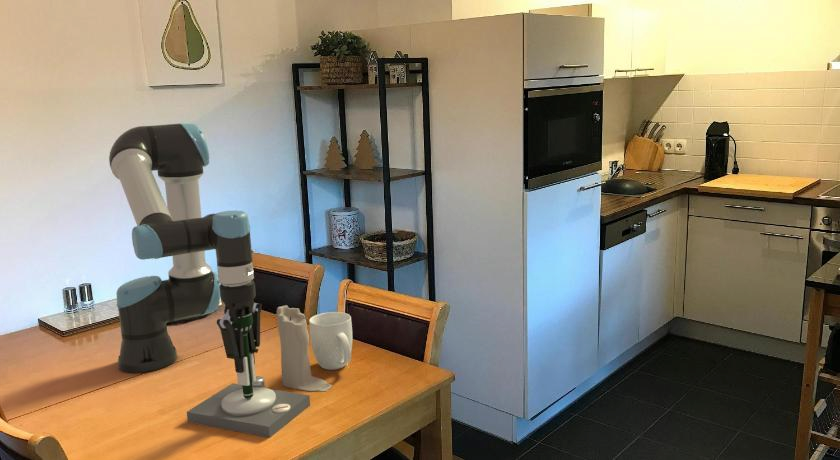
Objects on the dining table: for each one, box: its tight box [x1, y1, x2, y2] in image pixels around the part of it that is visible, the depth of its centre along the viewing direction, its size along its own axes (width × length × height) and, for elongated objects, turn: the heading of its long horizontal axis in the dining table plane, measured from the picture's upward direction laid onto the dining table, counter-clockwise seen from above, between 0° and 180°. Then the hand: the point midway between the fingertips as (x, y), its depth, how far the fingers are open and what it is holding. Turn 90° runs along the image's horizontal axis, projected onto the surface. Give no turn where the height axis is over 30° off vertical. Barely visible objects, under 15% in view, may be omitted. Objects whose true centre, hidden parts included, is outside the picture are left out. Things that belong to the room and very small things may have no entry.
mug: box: [308, 311, 353, 371], centre depth 179 cm, size 15×11×13 cm
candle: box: [276, 304, 333, 392], centre depth 169 cm, size 7×14×20 cm, turn 61°
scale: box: [186, 382, 311, 439], centre depth 156 cm, size 22×16×4 cm
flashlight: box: [231, 312, 253, 398], centre depth 153 cm, size 5×5×20 cm
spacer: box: [252, 375, 266, 388], centre depth 169 cm, size 4×4×2 cm
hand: (246, 382), depth 154 cm, fingers closed on flashlight, 1 cm apart
